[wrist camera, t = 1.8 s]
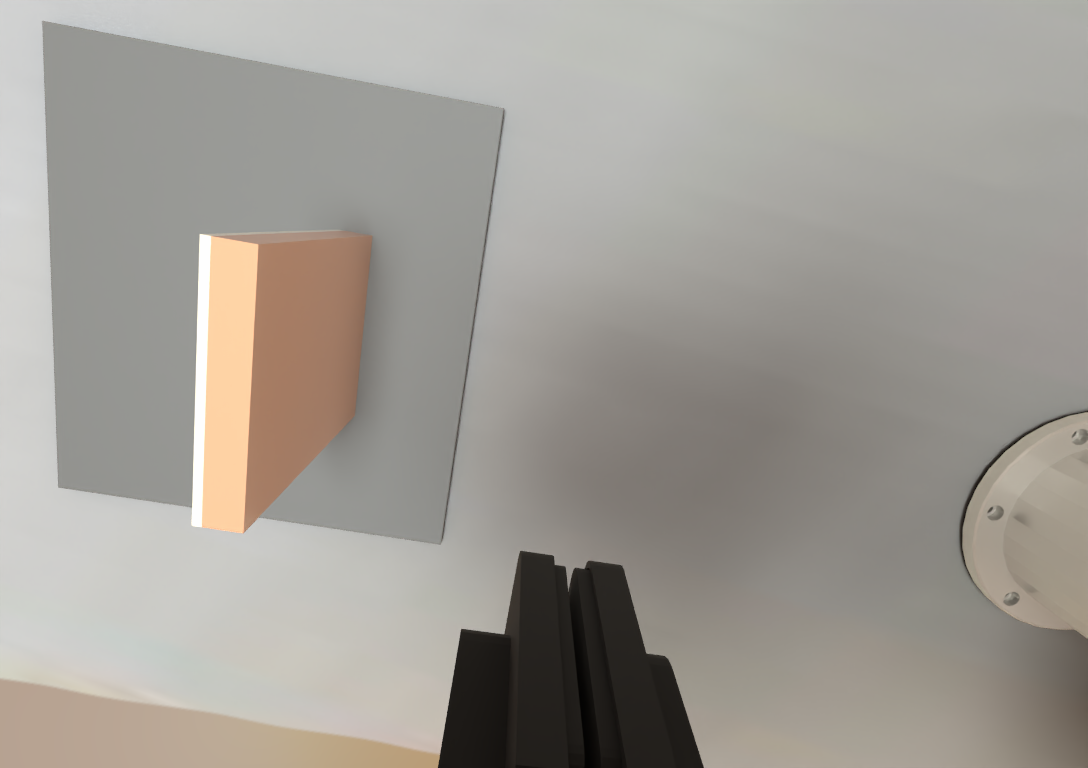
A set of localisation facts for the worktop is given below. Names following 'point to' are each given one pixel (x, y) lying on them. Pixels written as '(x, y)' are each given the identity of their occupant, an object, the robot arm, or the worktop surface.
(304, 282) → the tile
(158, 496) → the slate mat
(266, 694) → the worktop surface
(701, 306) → the worktop surface
